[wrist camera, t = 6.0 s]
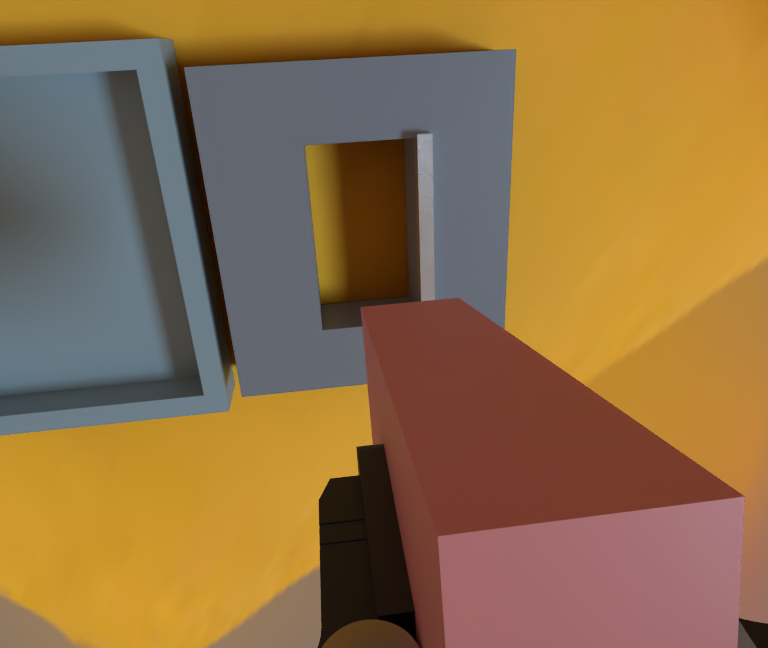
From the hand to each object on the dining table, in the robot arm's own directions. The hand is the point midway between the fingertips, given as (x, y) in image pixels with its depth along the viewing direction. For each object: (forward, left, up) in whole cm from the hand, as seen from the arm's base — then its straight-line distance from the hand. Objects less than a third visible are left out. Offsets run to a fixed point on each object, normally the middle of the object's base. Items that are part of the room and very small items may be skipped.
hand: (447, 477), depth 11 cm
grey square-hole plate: (0, 0, -18) cm, 18 cm away
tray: (+14, 0, -18) cm, 23 cm away
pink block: (0, +1, -4) cm, 4 cm away
